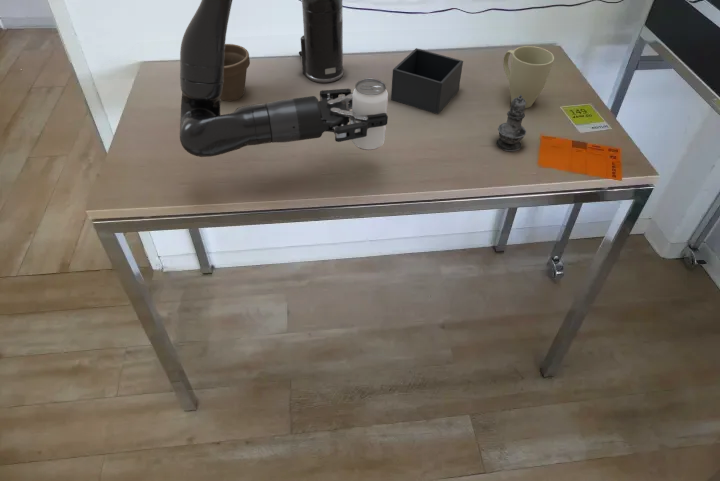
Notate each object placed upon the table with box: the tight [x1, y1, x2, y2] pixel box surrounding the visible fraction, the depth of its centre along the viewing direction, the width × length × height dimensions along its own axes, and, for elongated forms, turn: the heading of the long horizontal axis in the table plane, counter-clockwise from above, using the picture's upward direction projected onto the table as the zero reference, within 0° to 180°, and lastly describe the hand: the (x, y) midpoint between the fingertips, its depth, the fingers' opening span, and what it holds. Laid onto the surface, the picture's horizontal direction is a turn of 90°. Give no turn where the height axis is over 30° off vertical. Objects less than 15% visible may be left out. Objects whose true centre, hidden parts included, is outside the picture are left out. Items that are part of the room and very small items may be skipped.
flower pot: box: [220, 43, 251, 102], centre depth 130 cm, size 12×11×10 cm
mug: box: [502, 45, 555, 109], centre depth 129 cm, size 11×10×12 cm
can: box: [351, 77, 389, 151], centre depth 105 cm, size 6×6×12 cm
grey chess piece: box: [496, 95, 527, 152], centre depth 117 cm, size 6×6×12 cm
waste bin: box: [390, 47, 464, 115], centre depth 132 cm, size 12×12×8 cm
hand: (381, 108), depth 105 cm, fingers closed on can, 6 cm apart
